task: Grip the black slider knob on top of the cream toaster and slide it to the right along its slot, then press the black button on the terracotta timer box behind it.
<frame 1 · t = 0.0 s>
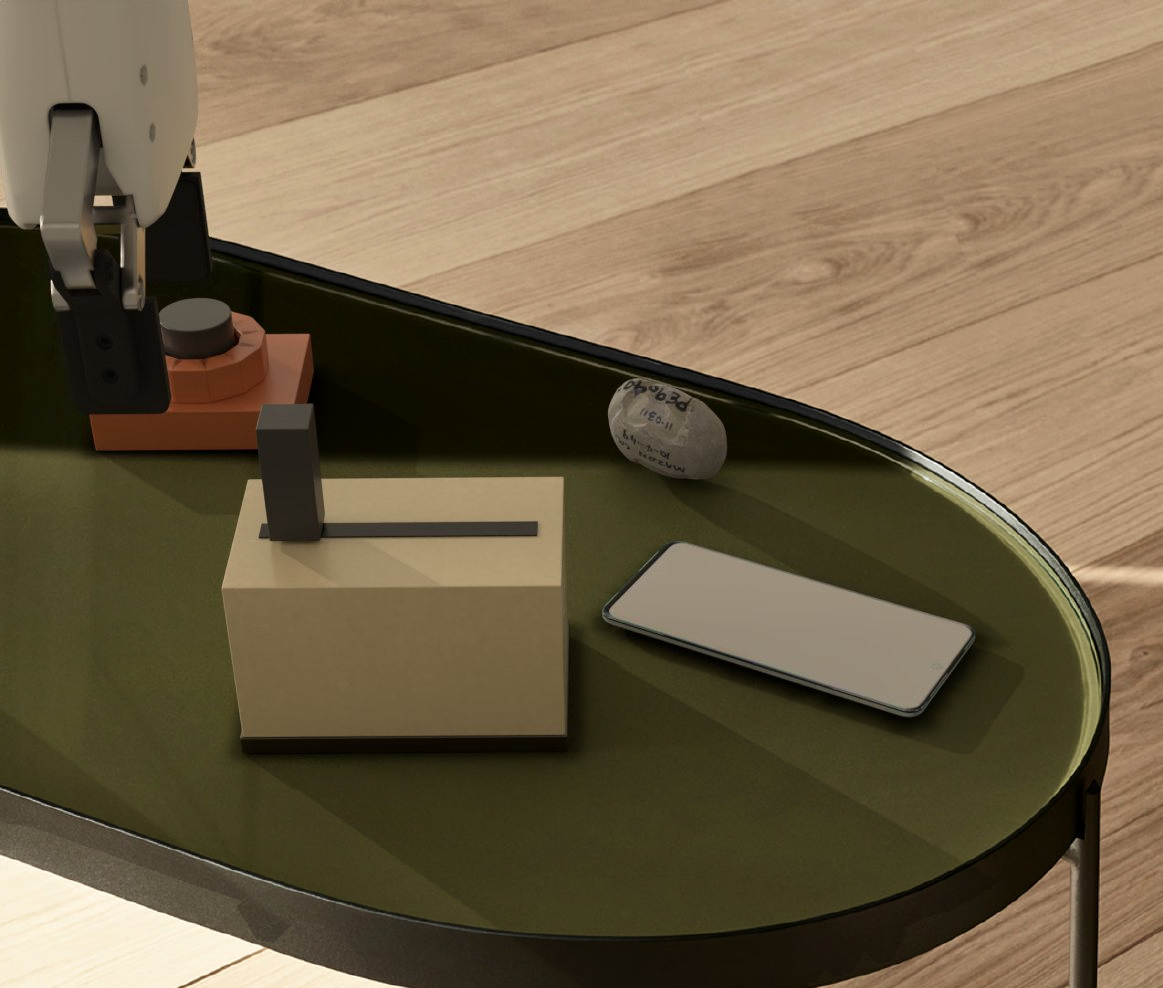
hand: (148, 340, 74), 18 cm above the table, tool pointing down, fingers open, 9 cm apart
smartphone: (786, 634, 91), on the table
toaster: (411, 691, 88), on the table
timer button: (196, 330, 104), point 4 cm above the table, slide at 0.1 cm
timer box: (208, 410, 107), on the table
fossil: (664, 482, 102), on the table
slider: (291, 473, 82), point 11 cm above the table, slide at 0.0 cm
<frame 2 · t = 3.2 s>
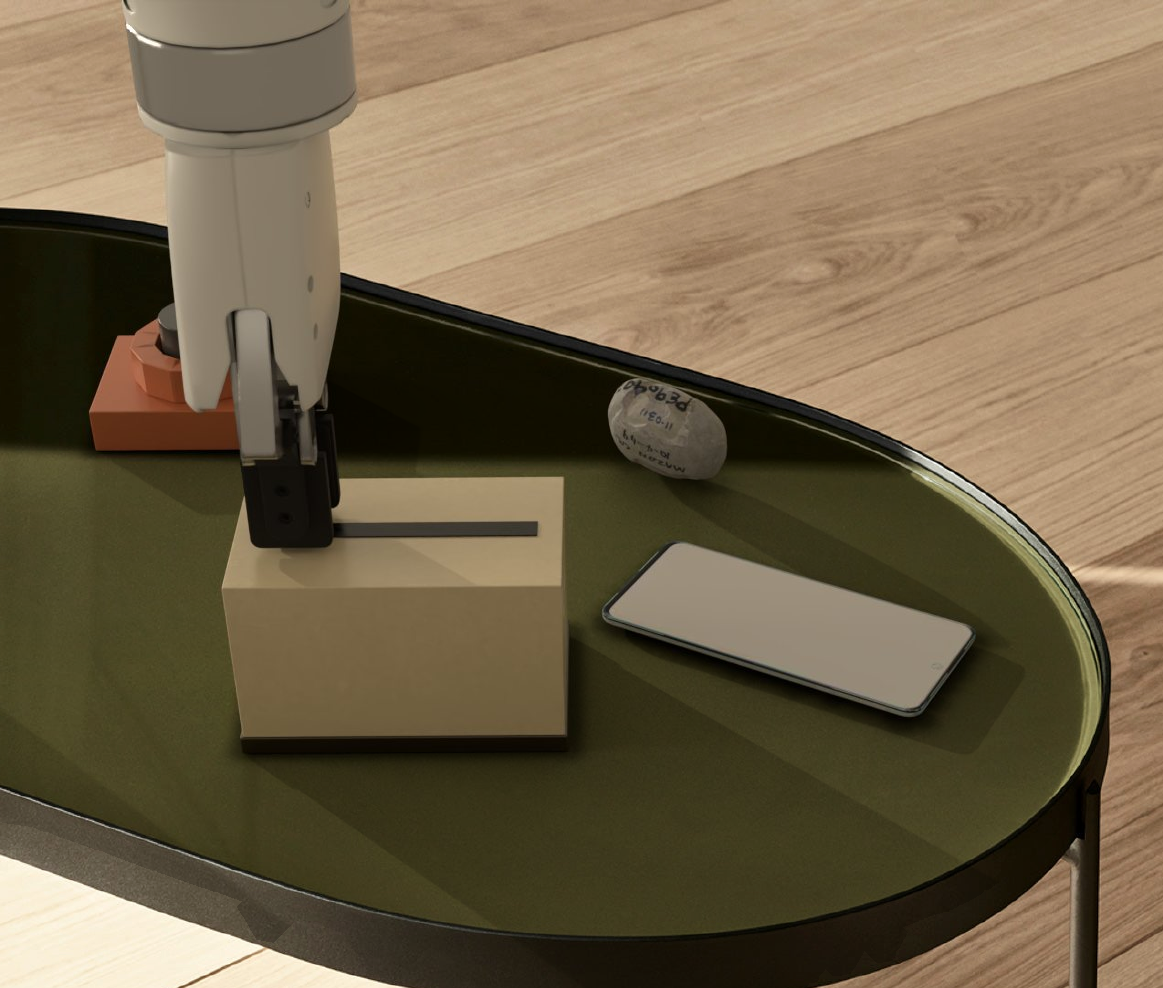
hand: (296, 521, 83), 8 cm above the table, tool pointing down, fingers closed on slider, 2 cm apart
slider: (291, 473, 82), point 11 cm above the table, slide at 0.0 cm, touching gripper
everything else where it was.
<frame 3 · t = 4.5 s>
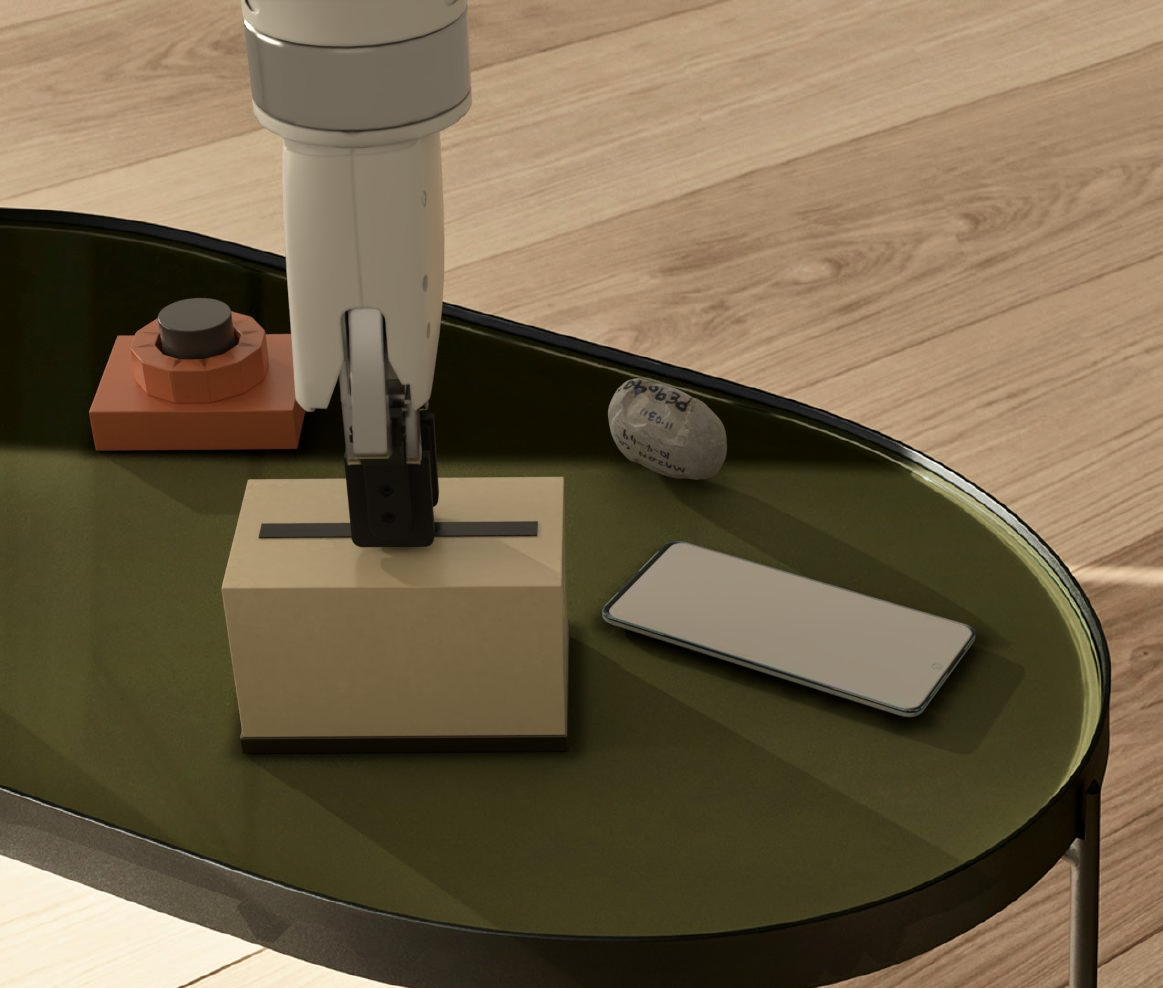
hand: (396, 520, 83), 8 cm above the table, tool pointing down, fingers closed on slider, 2 cm apart
slider: (392, 472, 82), point 11 cm above the table, slide at 3.9 cm, touching gripper
everything else where it was.
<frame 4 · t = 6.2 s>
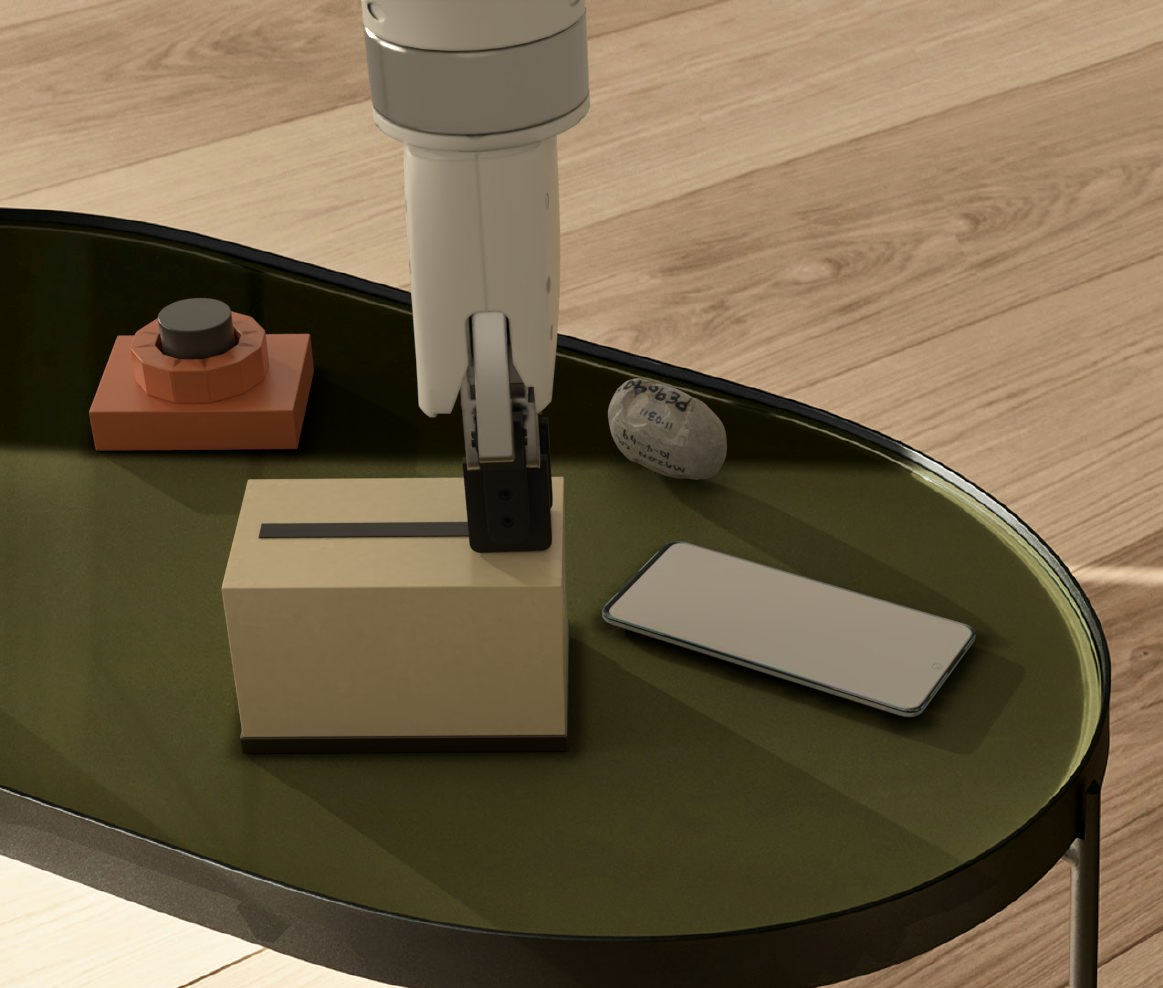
hand: (512, 525, 83), 8 cm above the table, tool pointing down, fingers closed on slider, 2 cm apart
slider: (507, 471, 82), point 11 cm above the table, slide at 8.4 cm, touching gripper
everything else where it was.
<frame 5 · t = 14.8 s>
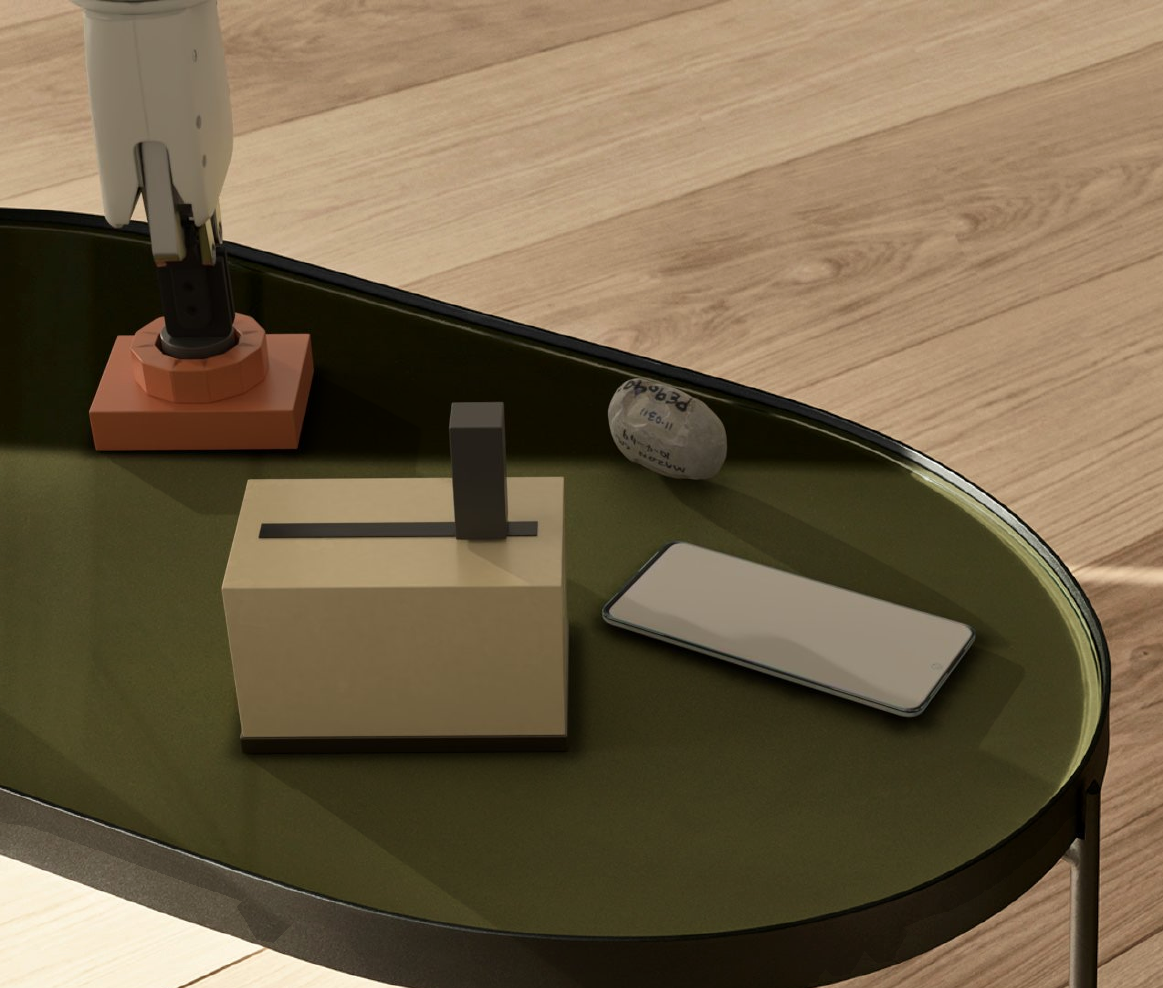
hand: (201, 328, 104), 4 cm above the table, tool pointing down, fingers closed
timer button: (199, 346, 105), point 4 cm above the table, slide at -0.8 cm, touching gripper
slider: (479, 471, 82), point 11 cm above the table, slide at 7.3 cm
everything else where it was.
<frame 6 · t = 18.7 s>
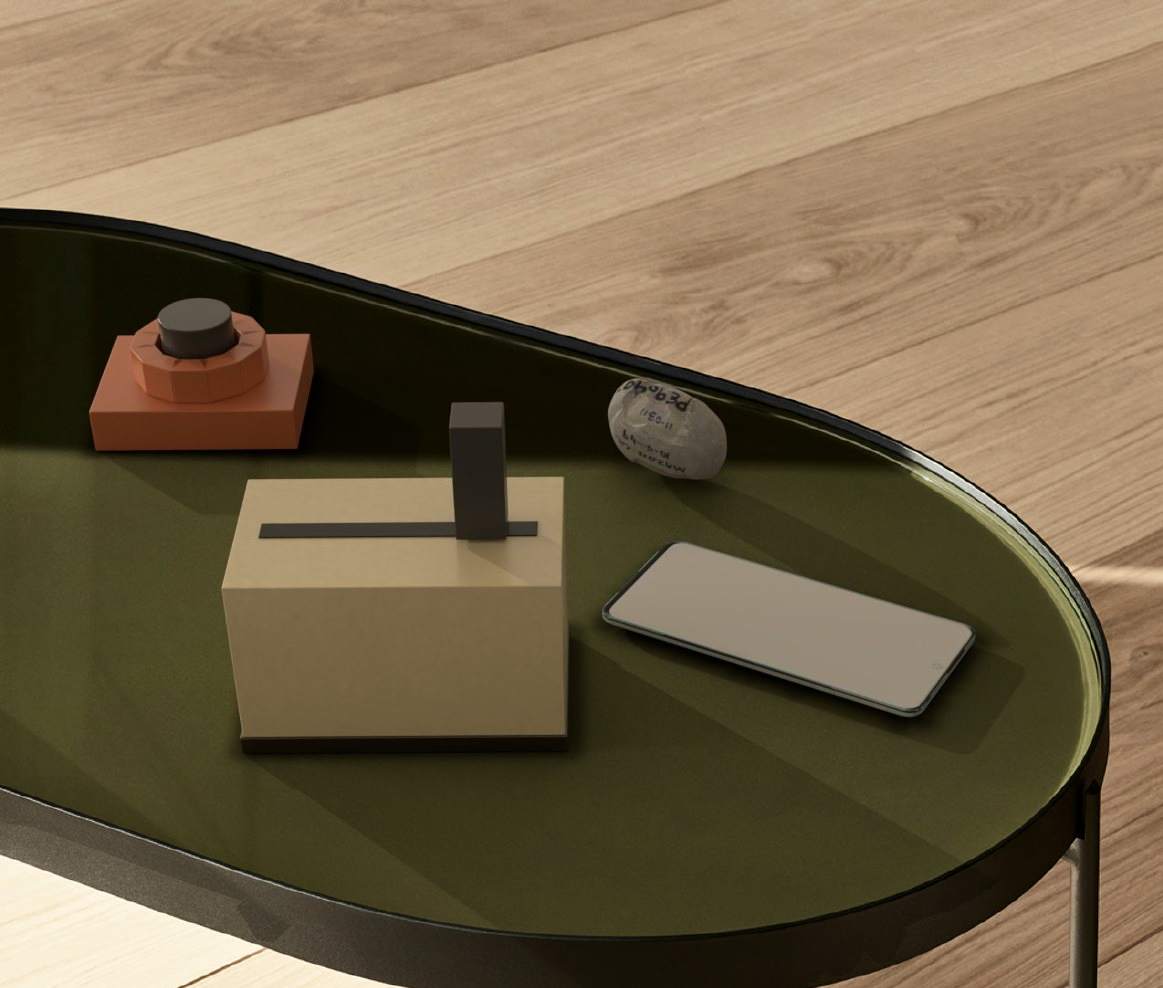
timer button: (196, 330, 104), point 4 cm above the table, slide at 0.1 cm
everything else where it was.
at the end: slider slide at 7.3 cm; timer button pushed in 1.1 cm at the most during the clip, back to where it started at the end; timer button slide at 0.1 cm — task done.
